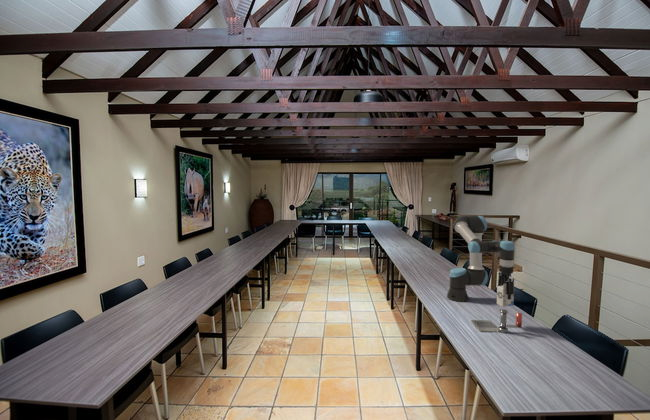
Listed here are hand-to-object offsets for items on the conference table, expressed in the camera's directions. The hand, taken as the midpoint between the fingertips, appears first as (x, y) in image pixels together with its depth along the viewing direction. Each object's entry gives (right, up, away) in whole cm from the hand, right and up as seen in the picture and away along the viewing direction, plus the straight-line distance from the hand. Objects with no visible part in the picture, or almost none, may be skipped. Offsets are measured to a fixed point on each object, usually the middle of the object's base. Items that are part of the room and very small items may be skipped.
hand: (505, 301), depth 185 cm
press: (-12, -15, -4) cm, 19 cm away
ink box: (0, -2, 0) cm, 2 cm away
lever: (0, -13, -9) cm, 15 cm away
